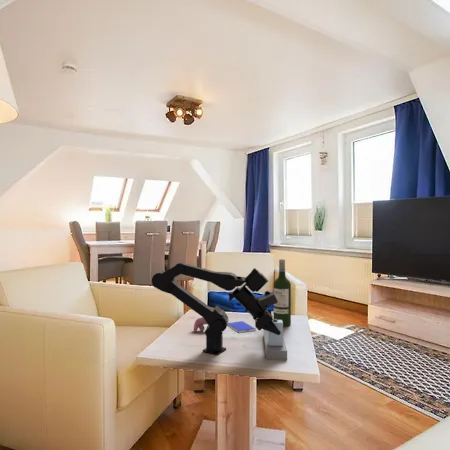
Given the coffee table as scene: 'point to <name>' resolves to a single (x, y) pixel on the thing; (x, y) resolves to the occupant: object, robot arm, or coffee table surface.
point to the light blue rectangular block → (274, 338)
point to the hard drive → (241, 326)
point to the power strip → (274, 349)
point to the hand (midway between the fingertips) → (279, 332)
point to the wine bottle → (282, 296)
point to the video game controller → (199, 324)
